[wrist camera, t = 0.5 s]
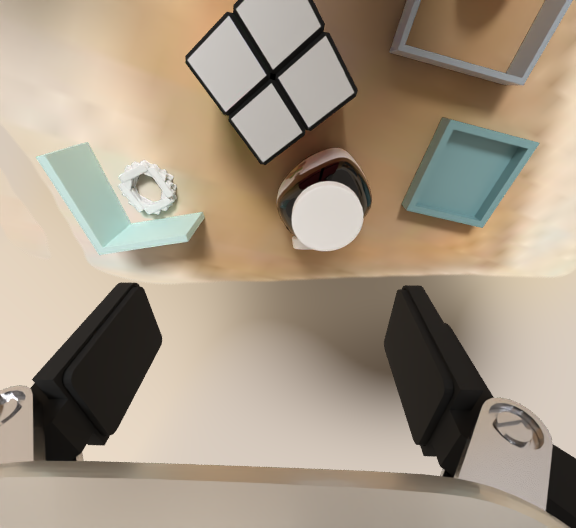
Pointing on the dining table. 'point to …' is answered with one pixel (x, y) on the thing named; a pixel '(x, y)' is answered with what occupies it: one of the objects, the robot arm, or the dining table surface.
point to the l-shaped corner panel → (116, 202)
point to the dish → (466, 172)
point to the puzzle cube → (272, 72)
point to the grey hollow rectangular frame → (515, 75)
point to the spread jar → (324, 201)
